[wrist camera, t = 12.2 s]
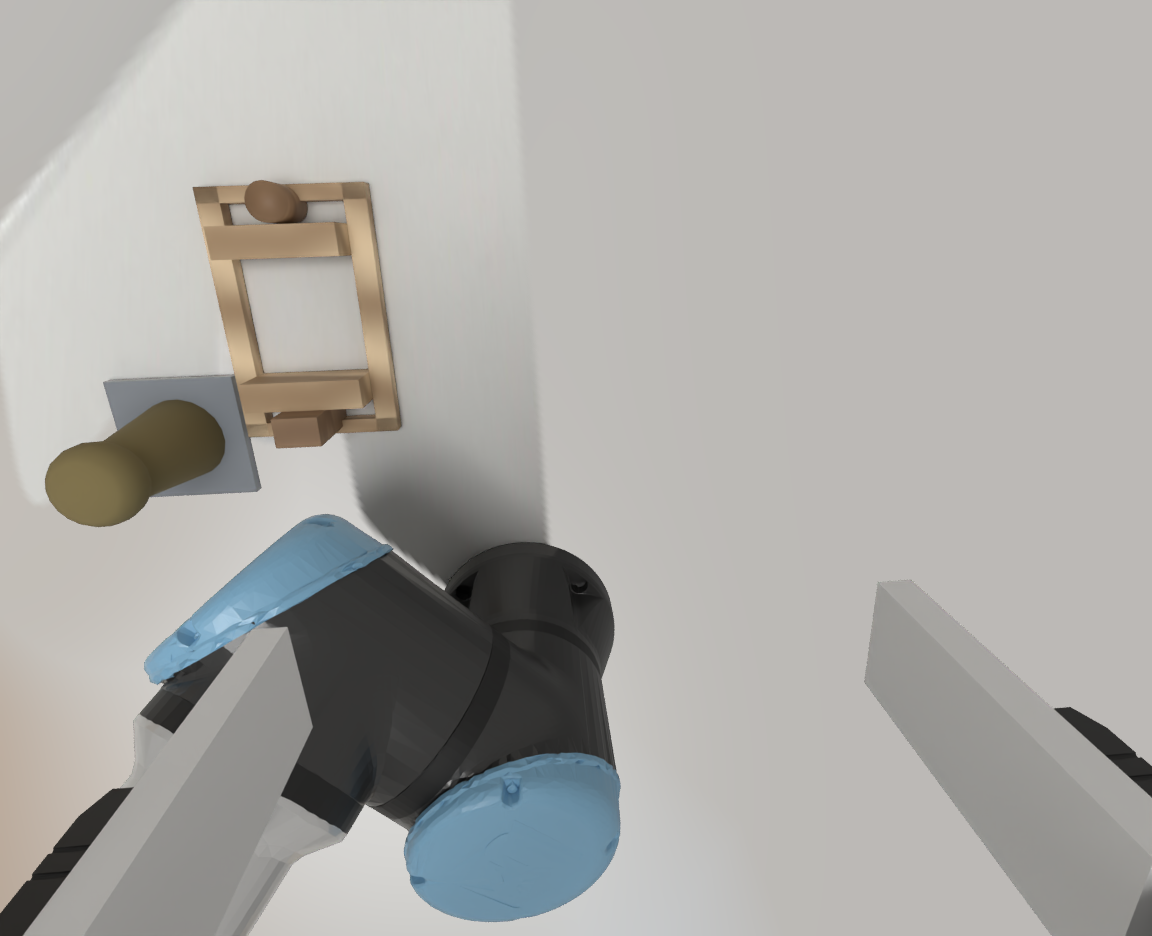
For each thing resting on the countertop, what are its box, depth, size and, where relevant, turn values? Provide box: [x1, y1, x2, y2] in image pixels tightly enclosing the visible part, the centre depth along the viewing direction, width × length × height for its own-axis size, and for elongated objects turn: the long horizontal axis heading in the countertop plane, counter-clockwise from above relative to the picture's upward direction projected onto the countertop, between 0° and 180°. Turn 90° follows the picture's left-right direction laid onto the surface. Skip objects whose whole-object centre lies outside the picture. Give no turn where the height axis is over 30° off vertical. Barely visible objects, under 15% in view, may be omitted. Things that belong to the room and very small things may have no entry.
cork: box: [45, 399, 225, 527], centre depth 41 cm, size 6×6×11 cm
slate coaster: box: [103, 375, 261, 497], centre depth 46 cm, size 9×9×1 cm
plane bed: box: [193, 180, 401, 448], centre depth 41 cm, size 17×11×6 cm, turn 2°
